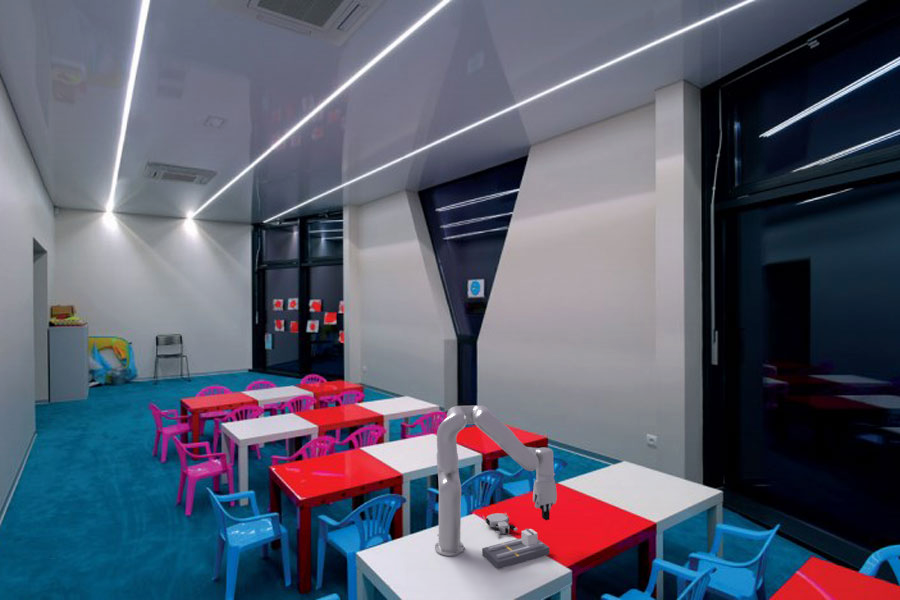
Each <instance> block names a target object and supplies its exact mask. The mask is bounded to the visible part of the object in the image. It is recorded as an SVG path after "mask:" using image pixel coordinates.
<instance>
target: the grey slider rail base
mask: <svg viewBox="0 0 900 600" xmlns="http://www.w3.org/2000/svg"><path fill="white" fill-rule="evenodd" d="M481 549H482V552H481V553H482V557H483V558H484V559H486V560H487V561H488V562H489V563H490V564H491V565H492V566H493V567H494V568H495V569H497V570H502V569H504V568H508V567H511V566H515V565H518V564H522V563H525V562H528V561H532V560H536V559H539V558H541V557H546V556H548V555H550V546H548V545H547V544H546V543H544V542H542V541H541V540H539V539H538V538H537V544H534V545H530V546H525V545H524V544H523V543H522V537H520V538H517V539H512V540H509V541H505V542H501V543H498V544H493V545H489V546H486V547H482V548H481Z"/></svg>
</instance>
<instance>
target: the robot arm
mask: <svg viewBox="0 0 900 600" xmlns="http://www.w3.org/2000/svg"><path fill="white" fill-rule="evenodd" d="M466 425H475V426H476V428H478V429H479V430H480V431H481V432H482V433H484V434H485V435H486V436H487V437H488V438H490V439H491V441H493V442H494V443H495V444H497V446H498V447H499V448H500V449H501V450H503V451H504V452H505V453H506V454H507V455H508V456H509V457H510V458H512V459H513V461H515V462H516V463H517V464H518V465H520V466H521V467H522V468H523V469H524V470H525V471H528V472H533V471H535V472H536V473H535V474H536V475H535V478H536V479H535V480H534V483H533V489H532V490H533V491H532V502H533V503H534V508H536V509H540V510H541V518H542V519H543V520H545V521H549V520H550V511H551V509H552V506H553V505H555V504H556V503H557V499H558V498H557V497H558V492H557V484H556V480H555V475H556V473H555V472H554V471H555V469H554V468H555V467H554V451H553V449H552V448H550V447H532V446H526V445H524V443H523V442H522V441H520V439H519V438H518V437H517V436H516V435H515V433H514V432H513V431H512V430H511V429H510V427H508V426H507V425H506V424H505V423H504V422H503V421H501V420H500V419H499V418H498V417H497V416H495V415H494V414H493V413H492V412H491V411H490V409H489V408H488V407H486V406H485V405H477V404H476V405H455V406H452V407H451V408H448V411H447V413H446V418H445V419H443V420H442V421H441V423H440V424H439V426H438V428H437V431H436V449H437V452H436V466H437V477H438V479H437V480H438V533H437V537H438V541H437V542H436V543H435V544H434V549H435V552H436V553H437V554H439V555H442V556H446V557H452V556H454V557H455V556H458V555H460V554H462V553H463V552H464V549H465V545H464V543H462V542H461V523H462V522H461V521H462V520H461V517H462V516H461V515H462V513H461V511H462V509H461V507H462V504H461V501H462V484H461V483H462V482H461V480H460V472H459V471H460V470H459V454H458V448H457V446H458V444H457V437H458V435H459V433H460V431H462V430H464V429H465V427H466Z"/></svg>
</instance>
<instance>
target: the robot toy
mask: <svg viewBox="0 0 900 600" xmlns="http://www.w3.org/2000/svg"><path fill="white" fill-rule="evenodd" d="M482 518H483V520H484V522H485V524H487V526H489V527H490V528H494V533H495V535H496V534H497V535H499V533H500V534H502V535H504V534H509V533H510V530H511V531H515V532H517V531H518V527H516V526H515V525H514V524H509V522H510V517H509V516H508V514H507V512H504V513H502V512H501V513H498V512H497V513H491V514H489V515H487V516H486V518H485V516H484V515H482Z"/></svg>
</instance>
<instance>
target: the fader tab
mask: <svg viewBox="0 0 900 600" xmlns="http://www.w3.org/2000/svg"><path fill="white" fill-rule="evenodd" d="M521 538H522V543H523V544H524V545H525V546H530V545H534V544H537V539H538V532H536V531H535V530H534V529H532V528H525V529H524V530H521Z"/></svg>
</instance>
